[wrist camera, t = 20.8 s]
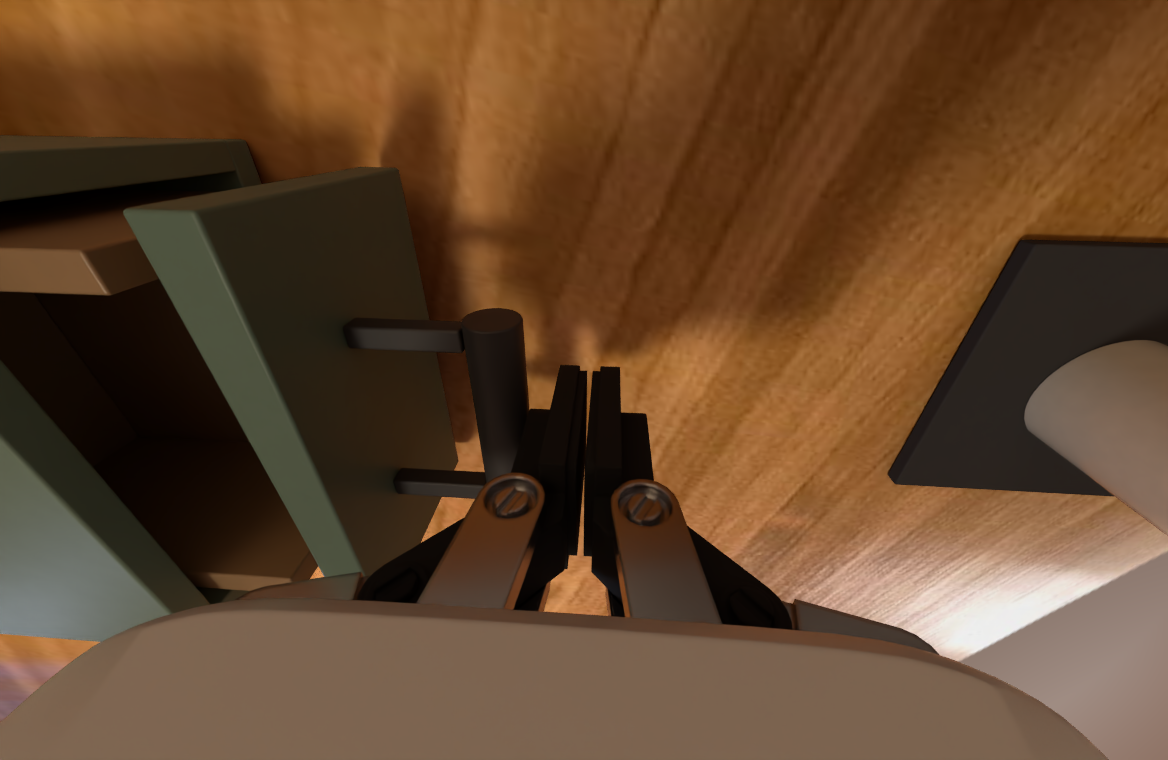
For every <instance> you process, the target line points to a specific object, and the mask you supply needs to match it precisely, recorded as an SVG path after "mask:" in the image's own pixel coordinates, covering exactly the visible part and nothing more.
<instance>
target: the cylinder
mask: <svg viewBox="0 0 1168 760" xmlns="http://www.w3.org/2000/svg"><path fill="white" fill-rule="evenodd" d="M1024 421H1025V424H1026V427H1027V429H1028V430H1029V432H1030V433H1031V434H1032V435H1034V436H1035V437H1036V438H1037V439H1039V440H1040V441H1041V442H1043V443H1044V444H1045V445H1047V446H1048V447H1049V448H1051V449H1052V450H1053V451H1055V452H1056V453H1057V454H1059V455H1060V456H1061V457H1063V458H1064V459H1065V460H1067V461H1068V462H1069V463H1071V464H1072V465H1073V466H1075V467H1076V468H1077V469H1079V470H1080V471H1081V472H1083V473H1084V474H1085V475H1087V476H1088V477H1090V478H1091V479H1092V480H1094V481H1095V482H1096V483H1098V484H1099V485H1100V486H1102V487H1103V488H1104V489H1106V490H1107V491H1108V492H1110V493H1111V494H1112V495H1114V496H1115V497H1116V498H1118V499H1119V500H1120V501H1122V502H1123V503H1124V504H1126V505H1127V506H1128V507H1130V508H1131V509H1132V510H1134V511H1135V512H1136V513H1138V514H1139V515H1140V516H1142V517H1143V518H1144V519H1146V520H1147V521H1148V522H1150V523H1151V524H1152V525H1154V526H1155V527H1156V528H1158V529H1159V530H1160V531H1162V532H1163V533H1164V534H1166V535H1167V536H1168V345H1166V344H1164V343H1161V342H1157V341H1149V340H1132V341H1123V342H1118V343H1113V344H1110V345H1106V346H1103V347H1100V348H1097V349H1094V350H1092V351H1089V352H1087V353H1085V354H1083V355H1080V356H1079V357H1077V358H1075V359H1073V360H1071V361H1069V362H1068V363H1066V364H1065V365H1063V366H1061V367H1060V368H1059V369H1057V370H1056V371H1055V372H1053V373H1052V374H1051V375H1050V376H1048V377H1047V378H1046V379H1045V380H1044V381H1043V382H1042V383H1041V384H1040V385H1039V386H1038V387H1037V389H1036V390H1035V391H1034V392H1033V394H1032V395H1031V397H1030V399H1029V401H1028V403H1027V405H1026V408H1025V412H1024Z"/></svg>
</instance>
